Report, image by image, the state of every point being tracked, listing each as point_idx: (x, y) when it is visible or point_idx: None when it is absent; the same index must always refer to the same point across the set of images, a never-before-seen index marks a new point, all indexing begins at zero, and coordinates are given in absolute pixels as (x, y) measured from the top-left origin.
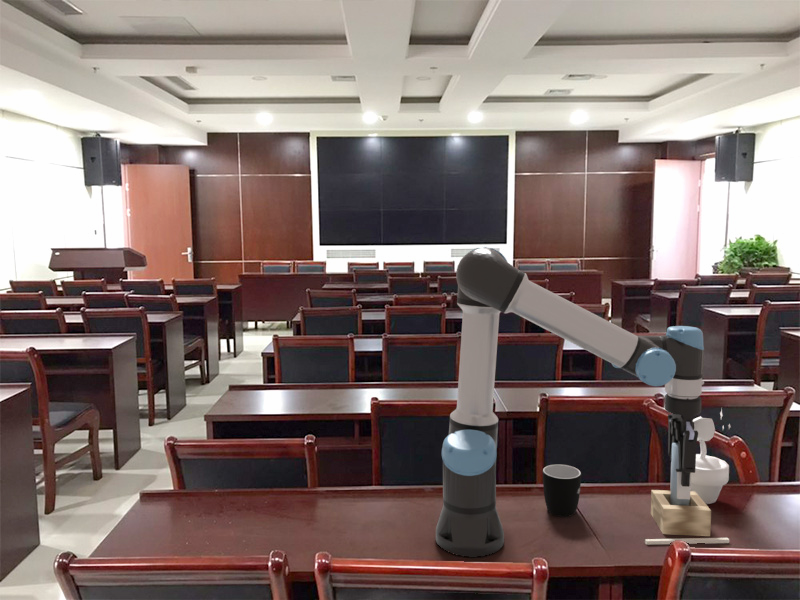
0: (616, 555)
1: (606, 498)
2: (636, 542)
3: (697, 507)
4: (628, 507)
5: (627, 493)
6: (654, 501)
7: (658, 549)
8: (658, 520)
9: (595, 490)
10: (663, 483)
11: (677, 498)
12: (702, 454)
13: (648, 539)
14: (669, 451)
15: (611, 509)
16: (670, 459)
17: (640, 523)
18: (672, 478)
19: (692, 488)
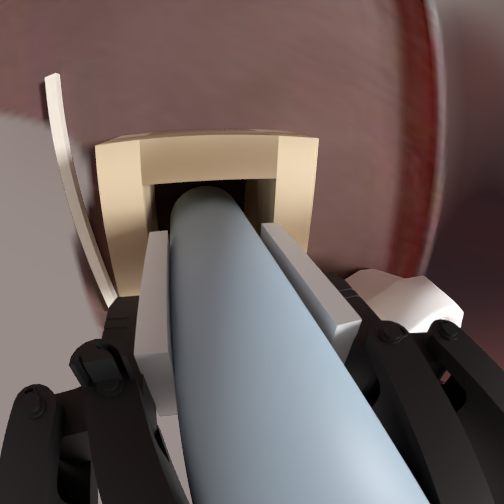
0: (5, 13)
1: (374, 38)
2: (62, 50)
3: None
4: (321, 74)
5: (404, 114)
6: (250, 132)
7: (28, 113)
8: (176, 131)
9: (414, 38)
10: (433, 229)
11: (151, 232)
12: None
13: (54, 83)
14: (451, 351)
15: (302, 17)
16: (386, 327)
17: (197, 74)
18: (213, 261)
19: (360, 296)
